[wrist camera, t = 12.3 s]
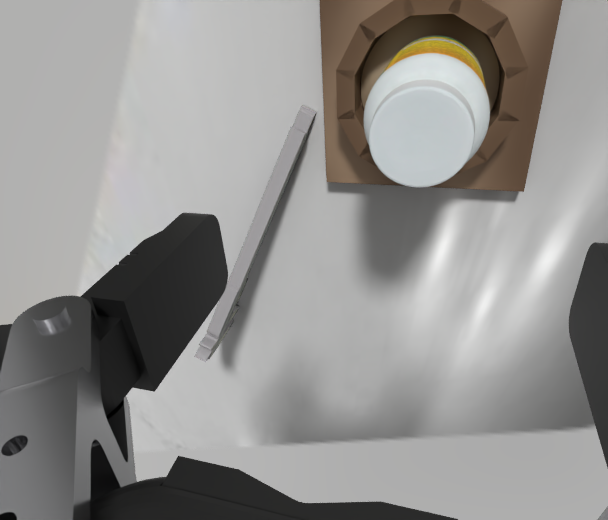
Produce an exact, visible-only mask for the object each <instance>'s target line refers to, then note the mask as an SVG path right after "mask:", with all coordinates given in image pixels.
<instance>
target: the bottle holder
mask: <svg viewBox="0 0 608 520" xmlns="http://www.w3.org/2000/svg"><path fill="white" fill-rule="evenodd" d="M561 5H562V0H320V21H321V47H322V73H323V98H324V124H325V150H326V176H327V182H340V183H360V184H381V185H401V186H405V185H402V184H399V183H396V182H394V181H393V180H391V179H389V178H388V177H387V176H386V175H384V174H383V173H382V172H381V170H380V169H379V168H378V167H377V165H376V164H375V162H374V160H373V158H372V155H371V153H370V147H369V144H368V142H367V139H366V135H365V131H364V110H365V105H366V101H367V99H368V96H369V93H370V91H371V89H372V87H373V86H374V84H375V83H376V81H377V80H378V78H379V77H380V75H381V74H382V73H383V71H384V70H385V68H386V67H387V66H388V64H389V63H390V61H391V60H392V59H393V58H394V56H395V55H396V54H397V53H398V52H399V51H400V50H401V49H402V48H404V47H405V46H406V45H408V44H409V43H411V42H413V41H415V40H417V39H419V38H422V37H426V36H434V35H440V36H447V37H451V38H454V39H456V40H458V41H460V42H461V43H463V44H464V45H466V46H467V47H468V48H469V49H470V50H471V51H472V52H473V54H474V55H475V56H476V58H477V60H478V61H479V64H480V66H481V69H482V72H483V77H484V81H485V86H486V91H487V94H488V99H489V105H490V120H489V126H488V130H487V133H486V136H485V138H484V140H483V142H482V144H481V146H480V148H479V149H478V151H477V152H476V153H475V154H474V155H473V157H472V158H471V159H470V160H469V161H468V162H467V163H465V165H464V166H463V167H462V168H461V169H460V170H459V171H458V172H457V173H456V174H455V175H454V176H453V177H451V178H450V179H448V180H446V181H444V182H442V183H440V184H437V185H434V186H430V187H442V188H462V189H482V190H502V191H523V192H524V188H525V183H526V178H527V173H528V168H529V163H530V158H531V153H532V148H533V143H534V138H535V133H536V129H537V124H538V119H539V114H540V109H541V104H542V99H543V94H544V89H545V84H546V79H547V74H548V69H549V64H550V59H551V54H552V49H553V44H554V39H555V34H556V29H557V25H558V20H559V15H560V10H561Z"/></svg>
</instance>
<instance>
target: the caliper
mask: <svg viewBox="0 0 608 520" xmlns="http://www.w3.org/2000/svg"><path fill="white" fill-rule="evenodd" d="M315 114H316V112H315V111H313V110H311V109H309V108H307V107H305V106H303V105H302V106H301V108H300V110H299V112H298V114H297V117H296V119H295V122H294V124H293V126H292V127H291V128H290V131H289V133H288V135H287V138H286V140H285V143H284V145H283V148H282V150H281V153H280V155H279V158H278V160H277V163H276V165H275V167H274V170H273V172H272V175H271V177H270V180H269V182H268V185H267V187H266V190H265V192H264V194H263V197H262V199H261V202H260V204H259V207H258V209H257V212H256V214H255V217H254V219H253V222H252V224H251V227H250V229H249V231H248V234H247V236H246V239H245V241H244V244H243V246H242V249H241V251H240V254H239V256H238V259H237V261H236V263H235V266H234V268H233V271H232V273H231V276H230V278H229V281H228V283H227V285H226V289H225V291H224V293H223V295H222V296H221V298H220V300H219V303H218V305H217V308H216V310H215V312H214V315H213V317H212V320H211V322H210V325H209V327H208V330H207V334H206V336H205V337H204V338H203V339H202V341H201V342H200V343H199V345H201V346H200V347H199V349H198V350H197V352H196V354H195V356H194V357H196V358H198V359H200V360H202V361H204V362H206V361H207V359H210V357H211V356H212V355H213V353H214V352H215V350H216V349H217V348H218V346H219V344H220V343H221V341H222V340H223V338H224V336H225V335H226V333H227V332H228V330H229V328H230V327H231V325H232V323H233V320H231V319H232V318H233V317H234V315H235V313H236V312H237V311H238V308H239V306H237V305H236V304H237V302H238V300H239V298H240V296H241V294H242V291H243V288H244V286H245V284H246V282H247V280H248V278H247V276H248V274H249V272H250V269H251V267H252V265H253V262H254V260H255V258H256V255H257V253H258V251H259V248H260V246H261V243H262V241H263V239H264V236H265V234H266V232H267V229H268V227H269V225H270V222H271V220H272V218H273V215H274V213H275V211H276V208H277V206H278V204H279V201H280V199H281V197H282V194H283V192H284V190H285V187H286V185H287V182H288V180H289V178H290V175H291V173H292V171H293V168H294V166H295V164H296V161H297V159H298V157H299V154H300V152H301V150H302V147H303V144H304V142H305V139H306V137H307V134H308V132H309V128H310V126H311V124H312V121H313V119H314V117H315Z"/></svg>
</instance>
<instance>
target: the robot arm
mask: <svg viewBox="0 0 608 520" xmlns="http://www.w3.org/2000/svg"><path fill="white" fill-rule="evenodd" d="M227 279H228V270H227V264H226V259H225V253H224V248H223V242H222V237H221V231H220V226H219V222H218V220H217V218H216V217H215V216H214V215H211V214H197V213H182V214H180V215H179V216H178V217H177V218H176V219H175V220H174V221H173V222H172V223H171V224H169V225H168V226H167V227H166V228H165V229H164V230H163V231H161V232H159V233H157V234H155V235H153V236H151V237H149V238H147V239H145V240H143V241H142V242H141V243H140V244H139V245H138V246H137V247H136V248H134V249H133V250H132V251H131V252H130V255H127V256H125V257H124V258H123V259H122V260H121V261H120V262H119V265H115V266H114V267H113V268H112V269H111V270H110V271H109V272H108V273H106V274H105V275H104V276H103V277H102V278H101V279H100V280H99V281H97V282H96V283H95V284H94V285H93V286H92V287H91V288H90V289H89V290H87V291H86V292H85V293H84V294H83V295H82V296H81V297H79V296H61V297H56V298H52V299H49V300H46V301H43V302H40V303H38V304H36V305H34V306H32V307H31V308H29V309H27V310H26V311H25V312H23V313H22V314H21V315H20V316H18V318H17V319H16V320H15V321H14V323H13V324H8V325H0V520H458V519H454V518H450V517H446V516H441V515H437V514H432V513H428V512H424V511H419V510H415V509H410V508H406V507H401V506H397V505H393V504H389V503H384V502H351V503H350V502H348V503H347V502H346V503H302V502H298V501H296V500H294V499H292V498H290V497H288V496H286V495H284V494H283V493H281V492H279V491H277V490H275V489H273V488H272V487H270V486H268V485H266V484H264V483H262V482H261V481H258V480H257V479H255V478H253V477H251V476H250V475H248V474H246V473H244V472H242V471H240V470H238V469H234V468H229V467H224V466H220V465H216V464H212V463H207V462H202V461H198V460H194V459H189V458H185V457H180V456H178V457H177V459H176V461H175V463H174V464H173V466H172V468H171V470H170V471H169V473H168V475H167V477H160V478H154V479H147V480H143V481H139V482H137V481H136V474H135V463H134V452H133V441H132V429H131V418H130V407H129V403H128V400H127V397H126V395H127V394H128V392H129V391H130V390H131V388H132V387H133V388H139V389H144V390H149V391H155V390H156V389H157V387H158V386H159V384H160V383H161V382H162V380H163V379H164V377H165V376H166V375H167V373H168V372H169V370H170V369H171V367H172V366H173V365H174V363H175V362H176V360H177V359H178V357H179V356H180V355H181V353H182V352H183V350H184V349H185V348H186V346H187V345H188V343H189V342H190V340H191V339H192V338H193V336H194V335H195V333H196V332H197V331H198V329H199V328H200V326H201V325H202V323H203V322H204V321H205V319H206V318H207V316H208V315H209V313H210V312H211V311H212V309H213V308H214V306H215V305H216V304H217V302H218V301H219V299H220V298H221V296H222V295H223V293H224V291H225V289H226V285H227ZM569 333H570V338H571V342H572V345H573V349H574V352H575V356H576V359H577V363H578V366H579V370H580V373H581V377H582V380H583V384H584V387H585V391H586V394H587V397H588V401H589V404H590V408H591V411H592V415H593V418H594V422H595V425H596V429H597V432H598V436H599V439H600V443H601V446H602V449H603V453H604V457H605V460H606V463H607V467H608V243H593V244H592V245H591V246H590V248H589V249H588V252H587V255H586V258H585V261H584V265H583V268H582V271H581V275H580V278H579V282H578V285H577V288H576V292H575V295H574V298H573V302H572V305H571V309H570V316H569ZM598 520H608V507H607V508H606V509H605V511H604V512H603V513H602V515H601V516H600V517H599V518H598Z"/></svg>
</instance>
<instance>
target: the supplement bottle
mask: <svg viewBox="0 0 608 520" xmlns="http://www.w3.org/2000/svg"><path fill="white" fill-rule="evenodd" d="M489 120H490V105H489V99H488V94H487V91H486V86H485V81H484V77H483V72H482V69H481V66H480V64H479V61H478V60H477V58H476V56H475V55H474V54H473V52H472V51H471V50H470V49H469V48H468V47H467V46H466V45H464V44H463V43H461V42H460V41H458V40H456V39H454V38H451V37H447V36H440V35H434V36H426V37H422V38H419V39H417V40H415V41H413V42H411V43H409V44H408V45H406V46H405V47H404V48H402V49H401V50H400V51H399V52H398V53H397V54H396V55H395V56H394V58H393V59H392V60H391V61H390V63H389V64H388V66H387V67H386V68H385V70H384V71H383V73H382V74H381V75H380V77H379V78H378V80H377V81H376V83H375V84H374V86H373V87H372V89H371V91H370V93H369V96H368V99H367V101H366V105H365V110H364V131H365V135H366V139H367V142H368V144H369V147H370V153H371V155H372V158H373V160H374V162H375V164H376V165H377V167H378V168H379V169H380V170H381V172H382V173H383V174H384V175H386V176H387V177H388V178H389V179H391V180H393V181H394V182H396V183H399V184H402V185H405V186H409V187H417V188H419V187H421V188H422V187H430V186H434V185H437V184H440V183H442V182H444V181H446V180H448V179H450V178H451V177H453V176H454V175H455V174H456V173H457V172H458V171H459V170H460V169H461V168H462V167H463V166H464V165H465V163H467V162H468V161H469V160H470V159H471V158H472V157H473V155H474V154H475V153H476V152H477V151H478V149H479V148H480V146H481V144H482V142H483V140H484V138H485V136H486V133H487V130H488V126H489Z"/></svg>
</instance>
